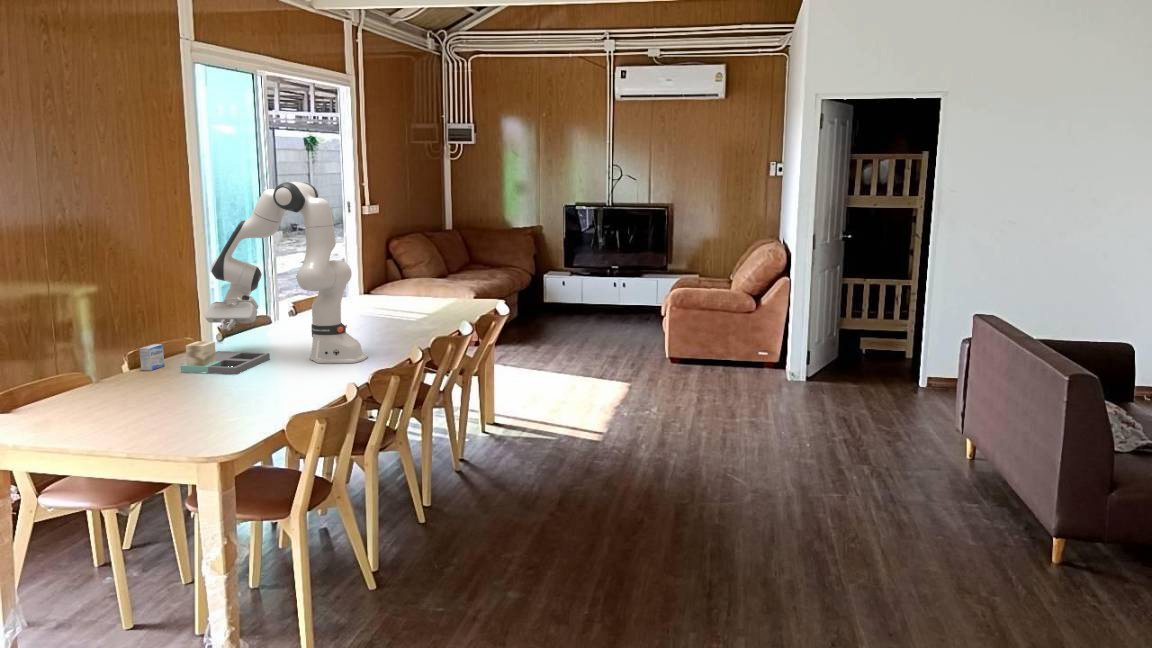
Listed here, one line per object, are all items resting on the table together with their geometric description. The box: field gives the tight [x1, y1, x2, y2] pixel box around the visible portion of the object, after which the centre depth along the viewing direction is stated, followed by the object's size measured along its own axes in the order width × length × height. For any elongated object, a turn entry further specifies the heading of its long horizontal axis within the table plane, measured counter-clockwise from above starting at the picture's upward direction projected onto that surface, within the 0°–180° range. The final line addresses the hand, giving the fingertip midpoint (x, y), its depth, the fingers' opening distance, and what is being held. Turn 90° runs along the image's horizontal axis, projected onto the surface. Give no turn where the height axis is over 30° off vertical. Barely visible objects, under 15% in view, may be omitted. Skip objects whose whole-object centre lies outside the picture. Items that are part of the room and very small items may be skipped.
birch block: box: [185, 340, 216, 366], centre depth 334 cm, size 7×8×8 cm
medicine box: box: [139, 343, 166, 372], centre depth 336 cm, size 8×4×9 cm, turn 168°
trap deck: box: [180, 350, 271, 375], centre depth 342 cm, size 22×26×2 cm
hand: (225, 330), depth 350 cm, fingers closed
